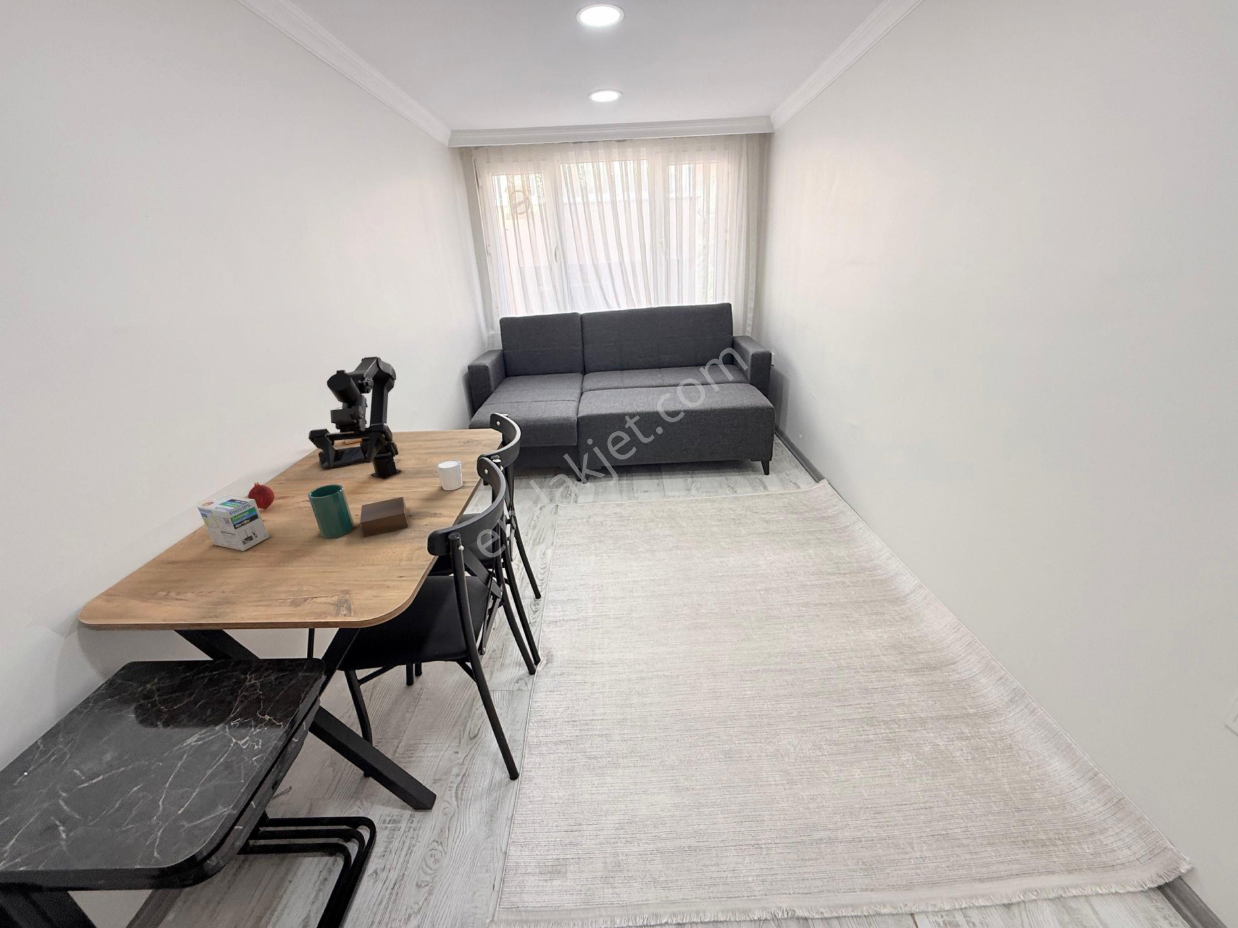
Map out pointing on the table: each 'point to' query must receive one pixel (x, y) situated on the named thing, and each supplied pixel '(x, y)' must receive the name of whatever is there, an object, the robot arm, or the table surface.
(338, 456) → the dark slate chunk
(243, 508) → the light bulb box
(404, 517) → the block
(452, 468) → the white cylinder
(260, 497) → the pomegranate
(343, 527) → the cup
